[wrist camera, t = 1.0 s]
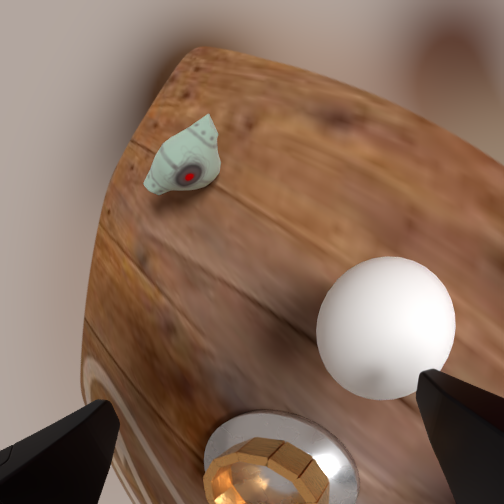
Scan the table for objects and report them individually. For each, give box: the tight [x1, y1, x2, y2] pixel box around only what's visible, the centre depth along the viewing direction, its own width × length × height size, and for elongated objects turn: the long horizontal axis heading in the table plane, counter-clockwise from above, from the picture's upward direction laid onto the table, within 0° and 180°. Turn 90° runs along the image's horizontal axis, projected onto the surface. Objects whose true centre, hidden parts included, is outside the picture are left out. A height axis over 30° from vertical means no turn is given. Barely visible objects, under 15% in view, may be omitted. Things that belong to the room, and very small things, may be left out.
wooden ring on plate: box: [203, 410, 360, 504], centre depth 20 cm, size 14×14×4 cm
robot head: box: [143, 114, 221, 195], centre depth 24 cm, size 8×4×7 cm, turn 125°
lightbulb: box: [316, 257, 455, 400], centre depth 14 cm, size 6×6×11 cm
